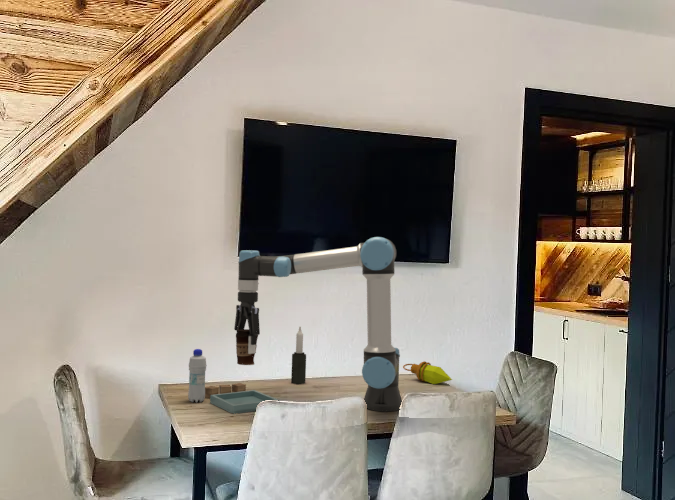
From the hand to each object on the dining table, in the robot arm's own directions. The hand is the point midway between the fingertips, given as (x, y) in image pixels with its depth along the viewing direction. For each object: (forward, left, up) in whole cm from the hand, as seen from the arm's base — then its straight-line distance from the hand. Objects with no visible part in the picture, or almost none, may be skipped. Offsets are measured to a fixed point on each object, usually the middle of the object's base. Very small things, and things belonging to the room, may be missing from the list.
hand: (246, 351), depth 253 cm
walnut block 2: (+18, -1, -20) cm, 27 cm away
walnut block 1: (+18, +5, -20) cm, 28 cm away
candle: (+25, -40, -20) cm, 51 cm away
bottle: (+14, +13, -20) cm, 28 cm away
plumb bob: (0, -94, -20) cm, 96 cm away
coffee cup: (0, 0, -5) cm, 5 cm away
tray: (0, 0, -20) cm, 20 cm away
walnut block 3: (+18, -7, -20) cm, 28 cm away
